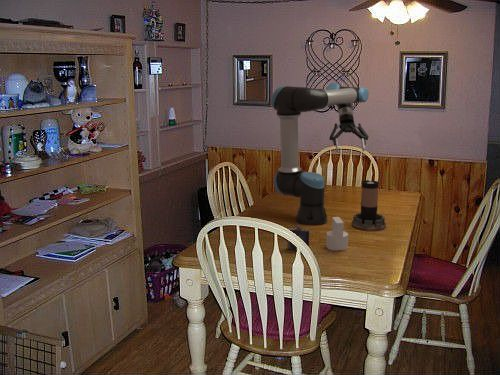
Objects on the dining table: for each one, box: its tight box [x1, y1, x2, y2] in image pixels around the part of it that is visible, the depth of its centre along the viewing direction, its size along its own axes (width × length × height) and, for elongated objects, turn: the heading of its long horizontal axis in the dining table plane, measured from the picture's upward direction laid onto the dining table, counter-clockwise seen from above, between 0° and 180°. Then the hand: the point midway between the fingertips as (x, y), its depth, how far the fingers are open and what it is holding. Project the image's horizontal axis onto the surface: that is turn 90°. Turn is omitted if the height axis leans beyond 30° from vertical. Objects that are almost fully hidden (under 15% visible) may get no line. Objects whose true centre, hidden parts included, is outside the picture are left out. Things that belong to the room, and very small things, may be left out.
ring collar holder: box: [351, 212, 387, 232], centre depth 262 cm, size 16×16×4 cm
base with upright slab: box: [325, 216, 349, 251], centre depth 232 cm, size 9×9×12 cm
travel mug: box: [360, 179, 379, 225], centre depth 260 cm, size 8×8×20 cm
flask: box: [286, 224, 310, 251], centre depth 229 cm, size 9×3×11 cm, turn 72°
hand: (350, 150), depth 283 cm, fingers open, 13 cm apart
